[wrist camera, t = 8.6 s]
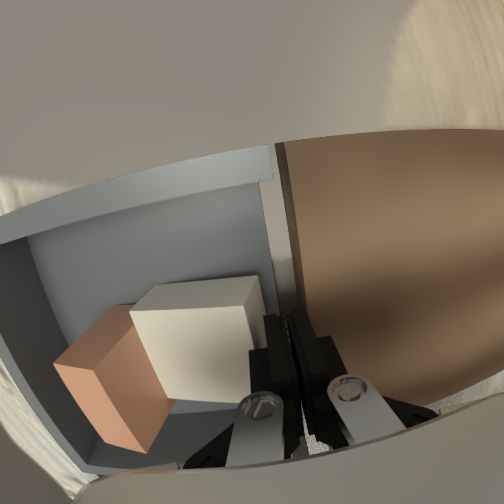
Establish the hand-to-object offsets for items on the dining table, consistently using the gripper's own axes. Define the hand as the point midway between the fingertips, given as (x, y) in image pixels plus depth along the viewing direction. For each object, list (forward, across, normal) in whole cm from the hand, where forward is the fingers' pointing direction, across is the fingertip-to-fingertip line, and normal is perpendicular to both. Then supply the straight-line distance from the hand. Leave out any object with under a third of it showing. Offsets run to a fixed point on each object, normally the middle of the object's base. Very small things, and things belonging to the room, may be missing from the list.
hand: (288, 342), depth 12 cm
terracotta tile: (0, +6, +1) cm, 6 cm away
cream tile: (+3, +3, 0) cm, 4 cm away
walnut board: (+4, -8, 0) cm, 9 cm away
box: (+4, +6, 0) cm, 7 cm away
